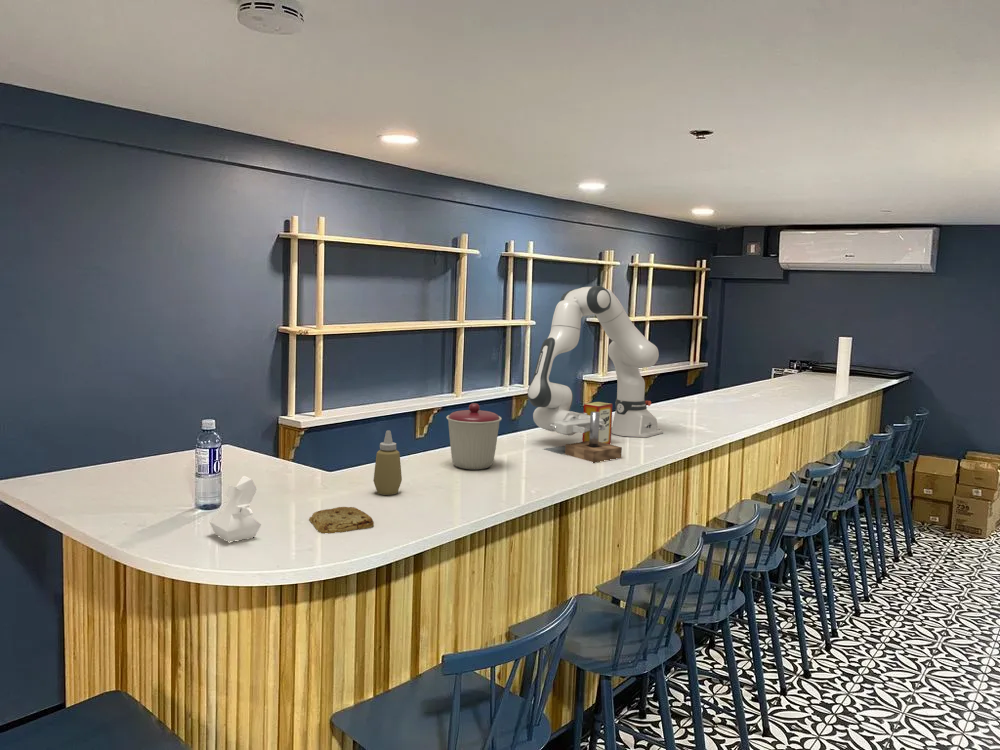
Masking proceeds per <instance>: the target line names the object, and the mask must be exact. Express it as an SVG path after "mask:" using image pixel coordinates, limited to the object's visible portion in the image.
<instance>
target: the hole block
mask: <svg viewBox="0 0 1000 750" xmlns="http://www.w3.org/2000/svg"><path fill="white" fill-rule="evenodd" d="M564 446H565V454H564V455H566V456H569V457H573V458H577V459H579V460H584V461H588V462H591V463H592V462H593V463H592V464H596V463H595V462H597V463H601V462H600V461H603V462H605V461H604V460H609V461H611V460H610V459H615V460H617V459H616V458H621V459H622V447H621V446H618V445H613V444H606V443H602V442H598V447H596V448H592V447H589V441H586V442H582V441H580V442H572V443H567V444H565V445H564Z"/></svg>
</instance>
